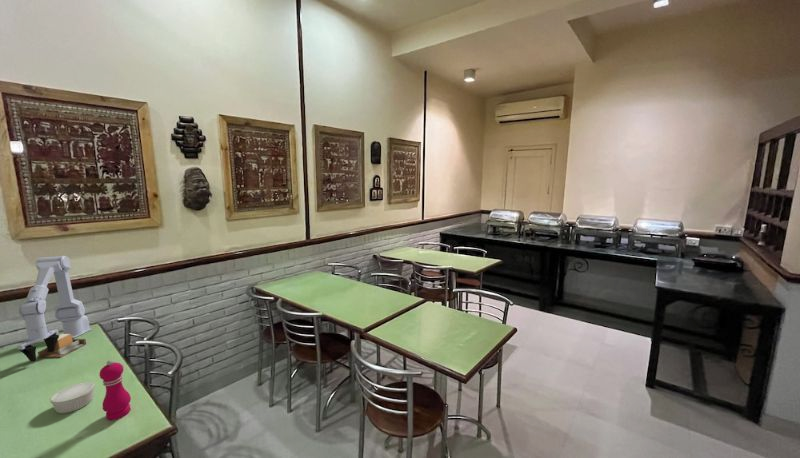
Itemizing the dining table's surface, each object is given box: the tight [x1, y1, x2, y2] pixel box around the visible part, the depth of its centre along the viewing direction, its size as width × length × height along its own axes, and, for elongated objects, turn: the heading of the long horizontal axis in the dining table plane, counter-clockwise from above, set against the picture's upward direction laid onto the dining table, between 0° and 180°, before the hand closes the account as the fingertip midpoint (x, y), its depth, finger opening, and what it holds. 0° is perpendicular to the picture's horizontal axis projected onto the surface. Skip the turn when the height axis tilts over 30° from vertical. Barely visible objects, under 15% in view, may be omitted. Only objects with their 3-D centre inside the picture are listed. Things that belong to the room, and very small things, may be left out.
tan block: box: [52, 333, 73, 353], centre depth 151 cm, size 6×4×6 cm
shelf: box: [37, 338, 87, 359], centre depth 151 cm, size 12×10×3 cm
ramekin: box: [49, 381, 96, 414], centre depth 114 cm, size 11×11×5 cm
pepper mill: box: [99, 359, 132, 421], centre depth 108 cm, size 7×7×20 cm
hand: (42, 356), depth 143 cm, fingers open, 7 cm apart
